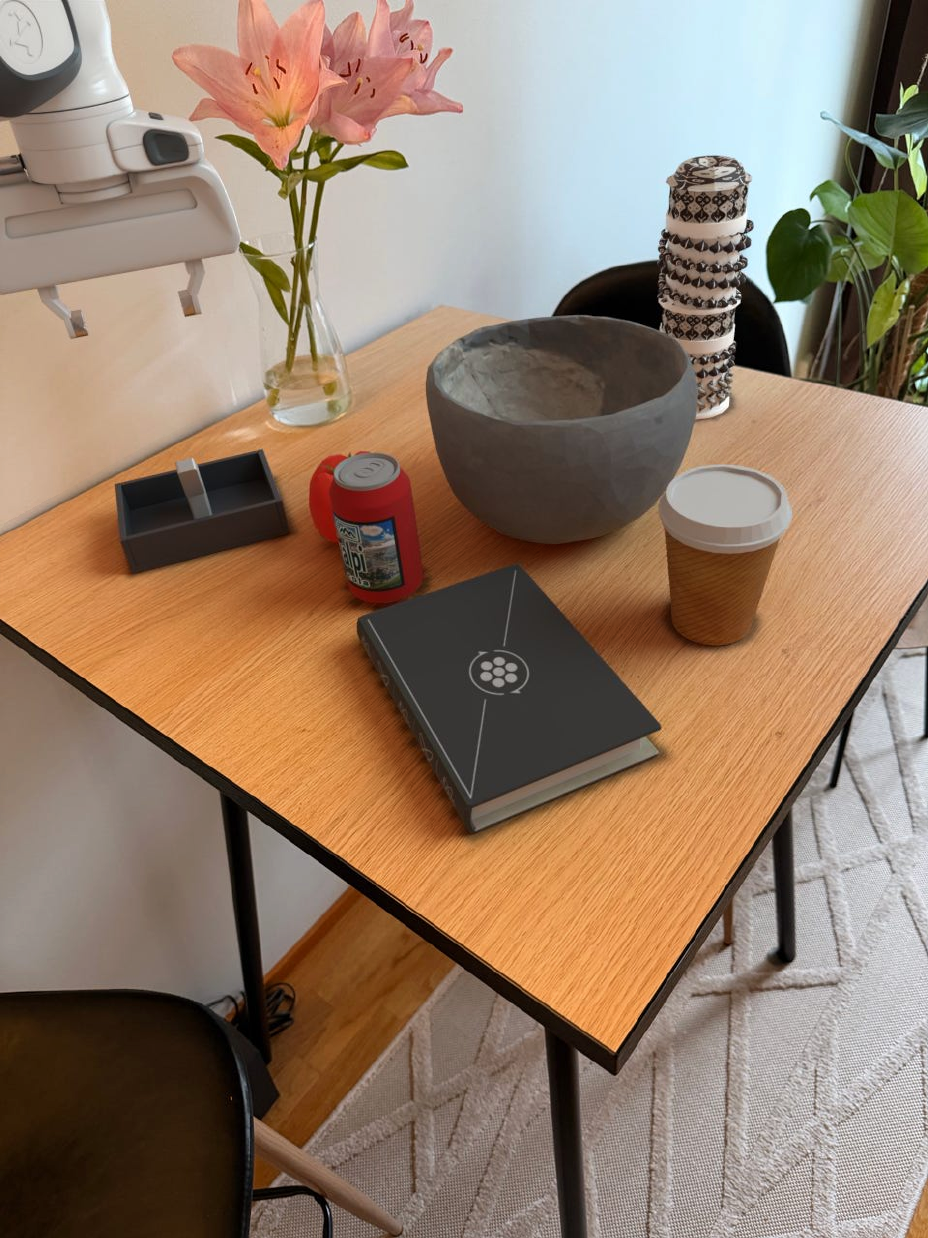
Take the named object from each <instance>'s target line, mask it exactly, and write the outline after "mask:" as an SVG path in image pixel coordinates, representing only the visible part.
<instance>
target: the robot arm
mask: <svg viewBox="0 0 928 1238" xmlns="http://www.w3.org/2000/svg"><path fill="white" fill-rule="evenodd" d="M2 122H9V124H10V127H11V131H12V133H13V137H14V139H15V142H16V145H17V148H18V151H19V153H18V154H11V155H6V156H0V296H4V295H11V294H16V293H22V292H27V291H32V290H33V291H34V290H37V292H38V296H39V298H40V300H41V303H42V304H43V305H45V306H46V307H47V308H48V309H49V310H50V311H51V312H52V313H53V314H55V315H56V317H58V318H59V319H60V320H61V321H63V322H64V326H65V328H66V331H67V333H68V337H69V338H70V340H74V339H75V340H76V339H78V338H82V337H83V338H84V337H88V336H89V335H90V333H89V329H88V324H87V322H86V321H85V316H84V314H83V313H84V312H83V310H82V309H75V310H71V309H70V308H69V307H68V306H67V305H66V304H65V303H64V302H63V301H62V300H61V299H60V288H59V286H61V285H67V284H71V283H77V282H82V281H88V280H93V279H100V278H105V277H111V276H115V275H122V274H127V273H133V272H138V271H143V270H149V269H155V268H160V267H165V266H170V265H177V264H182V263H183V264H184V266H185V270H186V272H187V275H189V279H188V283H187V285H186V286H187V287H186V289H183V290H179V291H177V294H178V299H179V301H180V305H181V309H182V313H183V315H184V318H186V317H192V316H193V317H194V316H197V315H202V308H201V305H200V301H199V297H198V295H199V293H200V290H201V286H202V284H203V280H204V277H205V273H206V271H205V266H204V262H203V260H204V259H210V258H214V257H215V258H216V257H221V256H226V255H232V254H235V253H236V252H237V250H238V248H239V246H240V244H241V242H242V236H241V231H240V228H239V225H238V220H237V217H236V214H235V211H234V207H233V204H232V202H231V199H230V196H229V194H228V191H227V190H226V186H225V185H224V182H223V180H222V178H221V177H220V175H219V173H218V171H217V170H216V168H215V167H214V166H213V164H212V163H211V162H210V161H209V159H208V158H206V156H204V151H205V150H204V142H203V138H202V134H201V132H200V130H199V128H198V127H197V126H196V125H195V124H194V123H193V122H191V120H188V119H187V118H184V117H181V116H177V115H176V116H175V115H171V114H165V113H164V114H163V113H159V112H154V111H148V110H143V109H137V108H135V107H134V105H133V102H132V98H131V93H130V90H129V87H128V84H127V82H126V81H125V79H124V77H123V74H122V73H121V71H120V70H119V67H118V65H117V62H116V58H115V55H114V51H113V45H112V26H111V20H110V16H109V12H108V9H107V4H106V1H105V0H0V123H2Z"/></svg>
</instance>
